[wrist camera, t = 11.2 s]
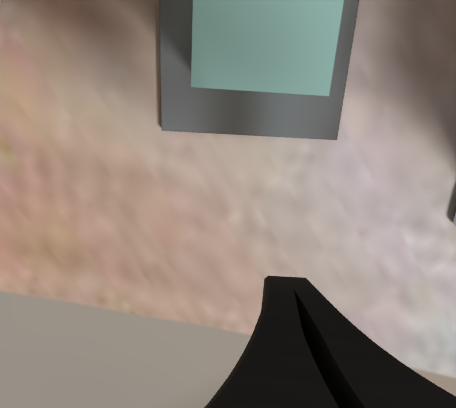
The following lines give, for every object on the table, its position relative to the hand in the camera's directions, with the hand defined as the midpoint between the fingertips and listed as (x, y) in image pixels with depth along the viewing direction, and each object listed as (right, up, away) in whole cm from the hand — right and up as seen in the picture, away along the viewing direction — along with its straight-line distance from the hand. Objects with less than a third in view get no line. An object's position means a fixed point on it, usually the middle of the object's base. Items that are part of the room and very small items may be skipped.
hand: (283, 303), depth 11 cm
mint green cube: (0, +12, +6) cm, 14 cm away
